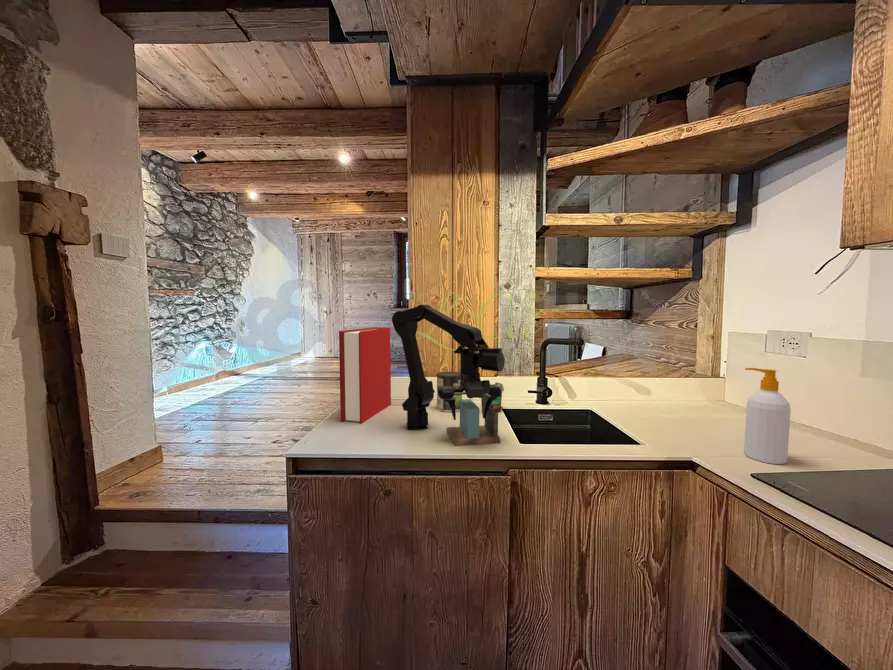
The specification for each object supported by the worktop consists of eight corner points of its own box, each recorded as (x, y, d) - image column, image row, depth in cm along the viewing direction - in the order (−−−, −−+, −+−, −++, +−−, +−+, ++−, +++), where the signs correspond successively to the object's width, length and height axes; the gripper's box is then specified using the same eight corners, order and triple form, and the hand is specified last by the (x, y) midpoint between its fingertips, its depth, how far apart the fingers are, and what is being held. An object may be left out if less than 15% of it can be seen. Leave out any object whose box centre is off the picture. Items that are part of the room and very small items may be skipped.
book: (361, 423, 123) (360, 331, 121) (340, 422, 125) (338, 330, 122) (392, 403, 149) (391, 327, 147) (374, 402, 151) (373, 327, 149)
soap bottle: (741, 448, 102) (746, 365, 100) (787, 457, 95) (793, 369, 93) (738, 457, 95) (743, 369, 94) (787, 467, 89) (793, 373, 87)
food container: (493, 415, 132) (494, 389, 132) (479, 412, 136) (480, 387, 135) (509, 408, 142) (509, 383, 142) (495, 406, 146) (496, 382, 145)
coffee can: (467, 407, 144) (467, 373, 143) (453, 413, 135) (453, 377, 134) (445, 403, 149) (445, 370, 148) (431, 409, 141) (431, 374, 140)
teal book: (467, 439, 104) (467, 409, 103) (459, 427, 115) (459, 399, 114) (479, 438, 105) (479, 408, 104) (470, 426, 115) (470, 399, 115)
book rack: (453, 445, 103) (453, 417, 102) (446, 432, 115) (446, 406, 114) (500, 442, 105) (500, 414, 105) (488, 429, 117) (488, 404, 116)
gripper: (443, 374, 99) (443, 429, 100) (508, 372, 102) (507, 425, 103) (437, 367, 110) (437, 417, 111) (495, 366, 113) (495, 414, 114)
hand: (469, 419), depth 109 cm, fingers open, 9 cm apart
